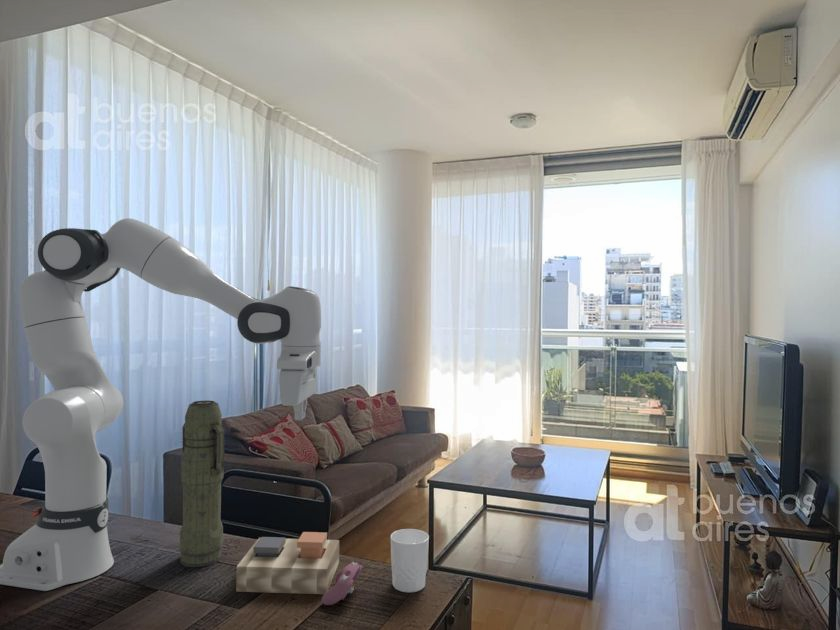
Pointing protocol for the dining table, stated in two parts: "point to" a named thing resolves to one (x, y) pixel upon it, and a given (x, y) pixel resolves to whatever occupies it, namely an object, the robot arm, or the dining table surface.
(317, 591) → the socket block
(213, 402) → the thermos
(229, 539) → the dining table surface
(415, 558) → the white cup
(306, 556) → the terracotta plug
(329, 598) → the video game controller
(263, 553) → the charcoal plug
